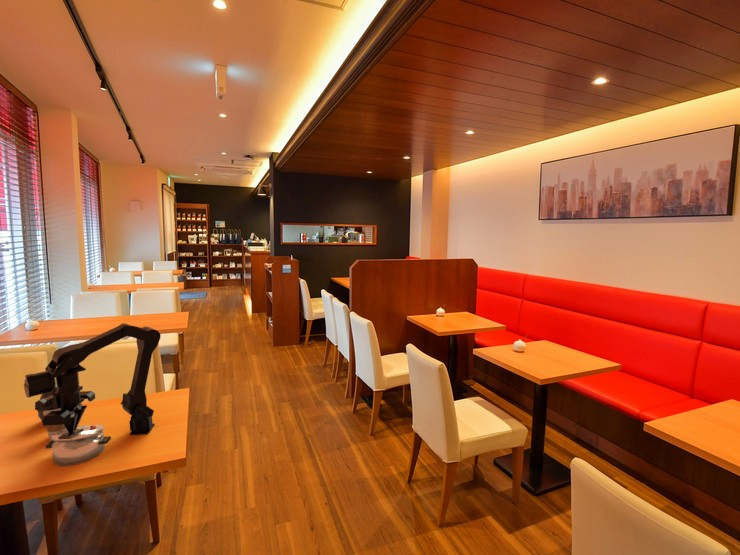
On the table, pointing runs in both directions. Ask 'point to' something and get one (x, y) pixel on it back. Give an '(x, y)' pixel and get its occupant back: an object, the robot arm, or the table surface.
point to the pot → (77, 449)
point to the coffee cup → (53, 428)
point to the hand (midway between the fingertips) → (72, 431)
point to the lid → (78, 433)
